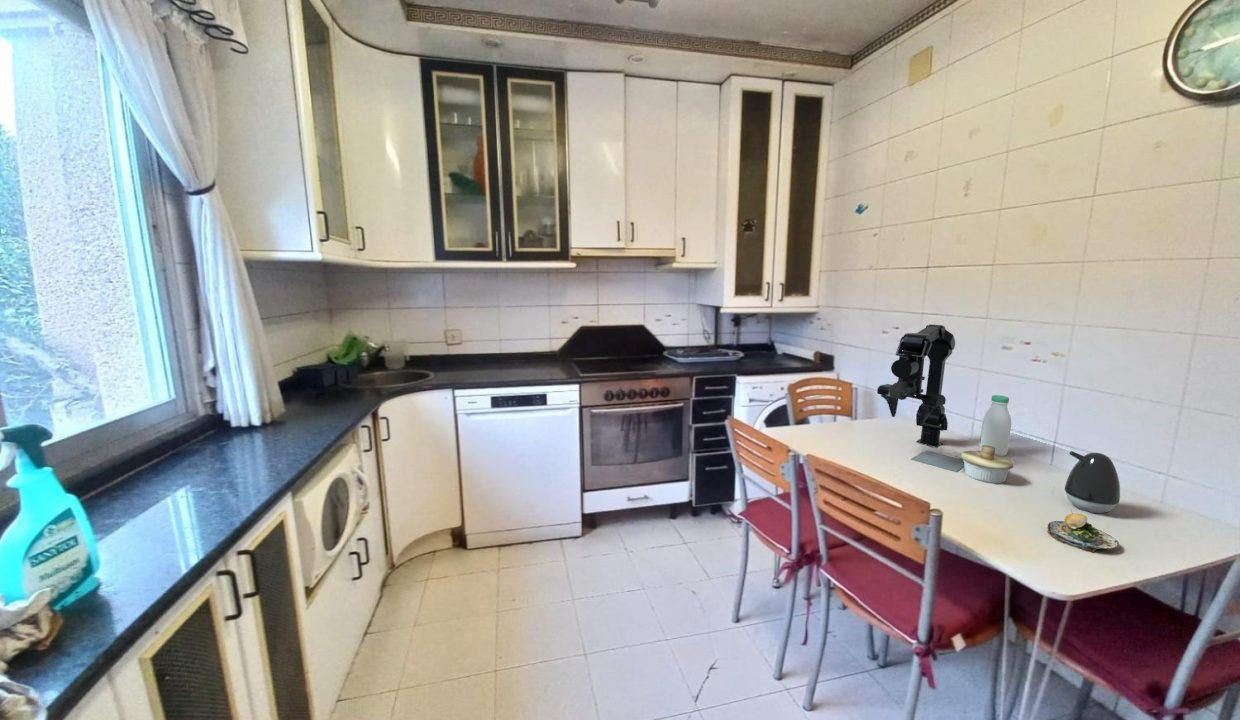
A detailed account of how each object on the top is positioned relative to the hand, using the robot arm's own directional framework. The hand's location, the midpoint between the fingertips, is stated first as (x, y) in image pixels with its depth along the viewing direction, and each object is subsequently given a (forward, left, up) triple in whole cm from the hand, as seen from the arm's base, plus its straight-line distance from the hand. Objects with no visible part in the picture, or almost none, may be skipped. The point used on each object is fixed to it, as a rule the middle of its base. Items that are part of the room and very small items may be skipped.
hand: (907, 420), depth 152 cm
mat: (-10, +7, -14) cm, 19 cm away
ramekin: (-6, +20, -15) cm, 26 cm away
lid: (-6, +20, -9) cm, 23 cm away
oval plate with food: (+18, +45, -15) cm, 51 cm away
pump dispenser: (-4, +43, -14) cm, 46 cm away
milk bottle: (-33, +15, -14) cm, 39 cm away
